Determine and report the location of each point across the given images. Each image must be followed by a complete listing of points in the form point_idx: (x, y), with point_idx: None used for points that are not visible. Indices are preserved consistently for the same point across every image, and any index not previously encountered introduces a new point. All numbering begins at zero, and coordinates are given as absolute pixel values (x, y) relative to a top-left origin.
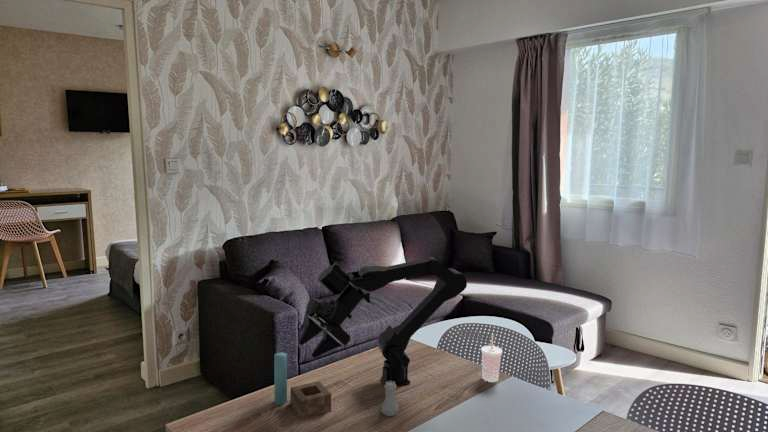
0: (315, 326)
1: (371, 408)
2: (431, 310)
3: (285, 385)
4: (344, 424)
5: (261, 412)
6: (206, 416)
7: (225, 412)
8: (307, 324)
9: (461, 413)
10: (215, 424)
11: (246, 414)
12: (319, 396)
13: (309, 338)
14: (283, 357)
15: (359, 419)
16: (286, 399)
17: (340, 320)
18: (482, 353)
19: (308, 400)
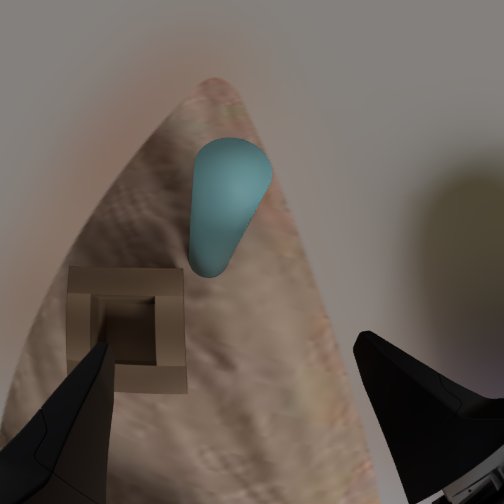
0: (443, 467)
1: None
2: None
3: (193, 249)
4: (19, 371)
5: (176, 193)
6: (223, 101)
7: (221, 129)
8: (480, 402)
9: None
10: (181, 106)
11: (187, 161)
12: (68, 339)
13: (380, 407)
14: (194, 172)
15: (27, 418)
16: (195, 270)
17: None
18: None
19: (68, 294)
